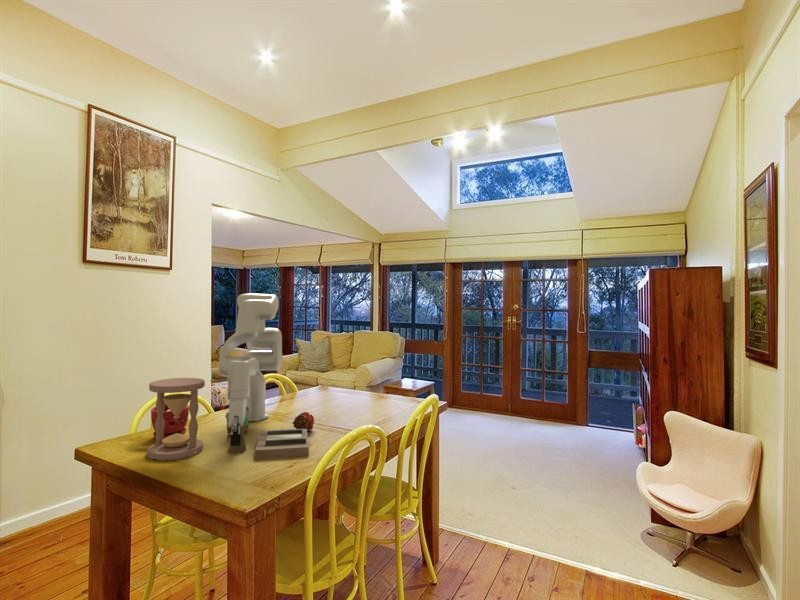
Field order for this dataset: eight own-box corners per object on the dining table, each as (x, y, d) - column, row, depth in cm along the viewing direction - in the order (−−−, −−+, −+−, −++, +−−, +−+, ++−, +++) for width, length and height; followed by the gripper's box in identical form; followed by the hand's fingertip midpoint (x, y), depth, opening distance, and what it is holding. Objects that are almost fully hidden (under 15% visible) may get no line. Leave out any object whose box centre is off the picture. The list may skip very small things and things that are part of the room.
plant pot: (148, 435, 166) (149, 405, 166) (184, 429, 174) (185, 401, 174) (152, 444, 155) (153, 412, 156) (191, 437, 163) (191, 407, 163)
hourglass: (213, 447, 153) (215, 379, 153) (173, 464, 137) (175, 388, 137) (177, 441, 159) (179, 376, 159) (135, 456, 143) (137, 383, 143)
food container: (239, 439, 163) (239, 413, 163) (225, 438, 164) (225, 412, 164) (256, 430, 175) (256, 406, 175) (242, 429, 176) (243, 405, 176)
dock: (260, 438, 164) (260, 427, 164) (306, 436, 168) (306, 425, 168) (255, 459, 142) (255, 445, 142) (308, 455, 147) (308, 442, 147)
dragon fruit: (302, 439, 169) (301, 435, 180) (319, 425, 172) (317, 422, 183) (290, 422, 168) (289, 419, 180) (307, 409, 171) (305, 406, 182)
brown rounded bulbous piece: (230, 454, 146) (231, 423, 146) (226, 449, 151) (227, 419, 151) (248, 451, 150) (248, 420, 150) (243, 446, 154) (244, 417, 155)
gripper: (231, 389, 158) (229, 434, 158) (223, 399, 141) (222, 449, 141) (251, 388, 160) (250, 433, 160) (246, 398, 143) (245, 448, 143)
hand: (237, 441), depth 150 cm, fingers open, 9 cm apart
